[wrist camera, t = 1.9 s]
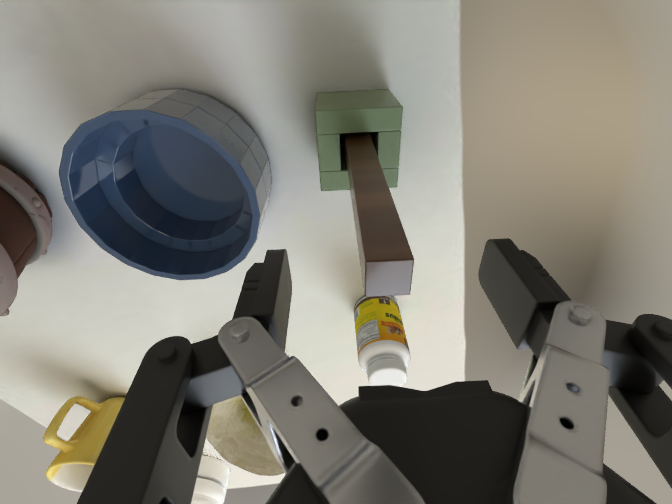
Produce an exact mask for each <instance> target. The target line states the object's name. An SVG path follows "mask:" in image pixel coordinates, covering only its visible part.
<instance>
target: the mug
mask: <svg viewBox="0 0 672 504" xmlns="http://www.w3.org/2000/svg"><path fill="white" fill-rule="evenodd" d="M124 400H125V397H114V398H110V399H108V400H106V401H104V402H102V403H100V404H98V403H96V402H94V401H92V400H89V399H87V398H84V397H81V396H76V397H73V398H71V399H69V400H68V401H67V402H66V403H65V404H64V405H63V406H62V407H61V408H60V410H59V411H58V412H57V414H56V415H55V417H54V418H53V420H52V421H51V423H50V425H49V426H48V428H47V430H46V432H45V434H44V437H43V441H44V442H45V443H47V444H49V445H51V446H53V447H55V448H58V449H60V450H61V451H60V452H59V454H58V455H57V456H56V458H55V459H54V460H53V462H52V463H51V465H50V466H49V467H48V469H47V471H46V476H47V478H48V479H49V480H50V481H51V482H52V483H54V484H56V485H58V486H60V487H63V488H65V489H69V490H73V491H79V492H82V491H83V489H84V487H85V485H86V483H87V480H88V478H89V476H90V474H91V472H92V469H93V467H94V465H95V463H96V461H97V459H98V456H99V454H100V452H101V450H102V448H103V445H104V443H105V441H106V439H107V437H108V435H109V432H110V430H111V428H112V426H113V424H114V421H115V419H116V417H117V415H118V413H119V410H120V408H121V406H122V404H123V402H124ZM75 403H77V404H79V405H81V406H83V407H85V408H87V409H89V410H90V411H91V412H90V414H89V415H88V416H87V418H86V419H85V420H84V422H83V423H82V424H81V425H80V427H79V428H78V429H77V431H76V432H75V433H74V434H73V436H72V437H71V438H70V440H69V441H64V440H62V439H60V438H59V437H57V431H58V429H59V426H60V425H61V423H62V421H63V419H64V417H65V416H66V414H67V413H68V411H69V410H70V408H71V407H72V406H73V405H74V404H75Z"/></svg>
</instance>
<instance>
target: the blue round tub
mask: <svg viewBox="0 0 672 504" xmlns="http://www.w3.org/2000/svg"><path fill="white" fill-rule="evenodd" d="M59 176H60V181H61V185H62V190H63V194H64V199H65V202H66V203H67V205H68V207H69V208H70V210H71V212H72V214H73V215H74V217H75V219H76V220H77V222H78V224H79V226H80V227H81V228H82V229H83V230H84V231H85V232H86V233H87V234H88V235H89V236H90V237H91V238H92V239H93V240H94V241H95V242H96V243H97V244H98V245H99V246H100V247H101V248H102V249H103V250H105V251H106V252H108V253H109V254H111V255H112V256H114V257H115V258H117V259H118V260H120V261H122V262H123V263H125V264H127V265H129V266H131V267H134V268H136V269H139V270H141V271H144V272H146V273H149V274H151V275H154V276H160V277H165V278H171V279H176V280H193V279H206V278H209V277H212V276H216V275H219V274H222V273H225V272H227V271H229V270H230V269H232V268H233V267H234V266H236V265H237V264H238V263H240V262H241V261H242V260H244V259H245V258H246V256H247V255H248V253H249V252H250V250H251V248H252V247H253V245H254V244H255V242H256V240H257V238H258V234H259V231H260V228H261V224H262V221H263V217H264V214H265V211H266V207H267V204H268V201H269V195H270V189H271V184H272V178H271V172H270V166H269V160H268V157H267V155H266V153H265V151H264V149H263V147H262V145H261V143H260V141H259V139H258V137H257V135H255V133H254V132H253V130H252V129H251V128H250V127H249V126H248V125H247V124H246V123H245V122H244V121H243V120H242V119H241V118H240V116H239V115H238V114H236V112H234V111H233V110H231V109H229V108H228V107H226V106H225V105H223V104H221V103H220V102H218V101H216V100H215V99H213V98H212V97H209V96H206V95H202V94H198V93H195V92H191V91H188V90H184V89H171V90H154V91H151V92H149V93H147V94H145V95H142V96H140V97H138V98H136V99H134V100H132V101H130V102H127V103H125V104H123V105H121V106H119V107H117V108H115V109H112V110H110V111H108V112H106V113H104V114H102V115H100V116H97V117H95V118H93V119H91V120H89V121H87V122H85V123H82V124H81V125H80V126H79V127H78V129H77V130H76V131H75V132H74V134H73V135H72V136H71V137H70V139H69V140H68V141H67V142H66V144H65V145H64V148H63V153H62V158H61V164H60V169H59Z"/></svg>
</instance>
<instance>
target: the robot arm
mask: <svg viewBox="0 0 672 504" xmlns="http://www.w3.org/2000/svg"><path fill="white" fill-rule="evenodd" d="M479 281H480V284H481V286H482V288H483V290H484V291H485V293H486V295H487V297H488V299H489V300H490V302H491V304H492V305H493V307H494V309H495V311H496V313H497V314H498V316H499V318H500V320H501V322H502V323H503V325H504V327H505V329H506V330H507V332H508V334H509V336H510V337H511V339H512V341H513V342H514V344H515V346H516V348H517V349H531V350H532V352H533V355H532V357H531V360H530V363H529V366H528V370H527V373H526V377H525V380H524V383H523V386H522V390H521V393H520V396H519V399H518V400H516V399H514V398H512V397H510V396H507V395H505V394H502V393H499V392H495V391H492V389H491V387H490V385H489V382H488V381H487V380H486V381H464V382H454V383H451V384H448V385H445V386H441V387H438V388H435V389H432V390H429V391H419V390H414V389H409V388H403V387H398V386H393V385H381V386H360V387H359V396H358V397H355V398H353V399H350V400H348V401H346V402H344V403H343V404H341V405H339V406H338V405H337V404H336V403H335V402H334V400H333V399H332V398H331V397H330V396H329V395H328V393H327V392H326V391H325V390H324V389H323V388H322V386H321V385H320V384H319V383H318V382H317V381H316V379H315V378H314V377H313V376H312V375H311V374H310V372H309V371H308V370H307V369H306V368H305V366H304V365H303V364H302V363H301V362H300V361H299V360H298V359H297V358H296V357H295V356H292V357H290V358H289V357H288V356H287V355H286V354H285V353H284V352H285V344H286V336H287V327H288V319H289V311H290V303H291V295H292V281H291V274H290V268H289V262H288V256H287V251H286V249H280V250H267V252H266V256H265V260H264V263H254V264H253V266H252V267H251V268H250V269H249V270H248V271H247V273H246V276H245V280H244V283H243V286H242V291H241V293H240V296H239V299H238V302H237V306H236V309H235V312H234V316H233V319H232V320H231V321H229V322H227V323H226V324H225V325H224V326H223V327H222V328H221V330H220V331H219V334H218V335H217V336H214V337H212V338H209V339H206V340H203V341H200V342H196V343H193V344H191V343H190V342H189V340H188V339H186V338H184V337H181V336H173V337H168V338H165V339H163V340H161V341H159V342H157V343H156V344H154V345H153V346H152V347H151V348H150V349H149V350H148V351H147V353H146V354H145V356H144V358H143V360H142V362H141V365H140V367H139V369H138V371H137V373H136V375H135V378H134V380H133V382H132V384H131V386H130V389H129V391H128V393H127V395H126V397H125V400H124V402H123V404H122V406H121V408H120V410H119V413H118V415H117V417H116V419H115V421H114V424H113V426H112V428H111V430H110V432H109V435H108V437H107V439H106V441H105V443H104V445H103V448H102V450H101V452H100V454H99V456H98V459H97V461H96V463H95V465H94V467H93V469H92V472H91V474H90V476H89V478H88V480H87V483H86V485H85V487H84V489H83V491H82V494H81V496H80V498H79V500H78V502H77V504H191V501H192V497H193V492H194V488H195V483H196V479H197V474H198V470H199V466H200V461H201V457H202V452H203V448H204V443H205V439H206V434H207V430H208V425H209V421H210V417H211V412H212V408H213V404H216V403H219V402H222V401H224V400H227V399H230V398H233V397H236V396H238V395H240V397H241V398H242V400H243V402H244V403H245V405H246V407H247V408H248V410H249V412H250V413H251V415H252V416H253V418H254V420H255V421H256V423H257V425H258V426H259V428H260V430H261V431H262V433H263V435H264V437H265V438H266V440H267V443H268V445H269V447H270V449H271V451H272V452H273V454H274V456H275V458H276V460H277V461H278V463H279V465H280V466H281V468H282V469H283V471H284V473H285V474H286V475H285V477H284V478H283V479H282V481H281V482H280V484H279V485H278V487H277V488H276V489H275V491H274V492H273V494H272V495H271V496H270V498H269V499H268V501H267V502H266V504H656V503H655V502H654V501H652V500H651V499H649V498H648V497H647V496H646V495H644V494H643V493H642V492H640V491H639V490H638V489H636V488H635V487H634V486H632V485H631V484H630V483H629V482H627V481H626V480H625V479H623V478H622V477H621V476H619V475H618V474H617V473H615V472H614V471H613V470H611V469H610V468H609V467H607V466H606V465H605V464H604V463H603V454H604V442H605V429H606V416H607V403H608V394H609V396H610V397H611V399H612V400H613V402H614V403H615V405H616V406H617V407H618V409H619V411H620V412H621V414H622V415H623V416H624V418H625V420H626V421H627V422H628V424H629V425H630V427H631V429H632V430H633V431H634V433H635V434H636V436H637V437H638V439H639V440H640V442H641V443H642V445H643V446H644V448H645V449H646V451H647V452H648V454H649V455H650V457H651V458H652V460H653V461H654V463H655V464H656V466H657V467H658V469H659V470H660V472H661V473H662V475H663V476H664V478H665V479H666V481H667V482H668V484H669V485H670V487H671V488H672V401H671V400H670V398H669V397H668V396H667V395H666V394H665V393H664V391H663V390H662V389H661V388H660V386H659V384H660V383H661V382H662V381H663V380H665V382H666V383H667V384H668V385H669V386H670V387H671V389H672V320H671V319H668V318H665V317H663V316H659V315H654V314H643V315H640V316H638V317H637V318H636V320H635V321H634V322H633V324H626V323H621V322H615V321H609V320H605V318H604V317H603V316H602V315H601V314H600V313H599V312H598V311H597V310H596V309H594V308H592V307H591V306H588V305H586V304H584V303H581V302H577V301H572V300H571V299H570V298H569V297H568V296H567V294H566V293H565V292H564V291H563V290H562V289H561V287H560V286H559V285H558V284H557V283H556V281H555V280H554V279H553V278H552V277H551V276H549V273H548V272H547V271H546V270H545V269H543V266H542V265H541V264H540V263H539V261H538V260H537V259H536V258H535V257H533V256H532V255H530V254H529V253H527V252H525V251H524V250H519V249H518V248H517V246H516V245H515V244H514V243H513V242H512V240H511V239H491V240H490V239H489V240H488V241H487V242H486V245H485V249H484V252H483V256H482V260H481V264H480V268H479Z"/></svg>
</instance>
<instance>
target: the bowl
mask: <svg viewBox="0 0 672 504" xmlns="http://www.w3.org/2000/svg"><path fill="white" fill-rule="evenodd" d="M206 438H207V440H208V441H209V442H210V444H211V445H212V446H213V447H214V448H215V449H216V450H217V451H218V453H219V454H220V455H221V456H222V457H223V458H224V459H225V460H226V461H228V462H229V463H231V464H233V465H235V466H238V467H239V468H242V469H244V470H246V471H248V472H251V473H254V474H258V475H267V476H274V475H279V474H282V473H284V471H283V469H282V468H281V466H280V465H279V463H278V461H277V460H276V458H275V456H274V454H273V452H272V451H271V449H270V447H269V445H268V443H267V440H266V438H265V437H264V435H263V433H262V431H261V430H260V428H259V426H258V425H257V423H256V421H255V420H254V418H253V416H252V415H251V413H250V412H249V410H248V408H247V407H246V405H245V403H244V402H243V400H242V398H241V397H240V395H238V396H236V397H233V398H230V399H227V400H224V401H222V402H219V403H216V404H213V408H212V412H211V417H210V421H209V425H208V430H207V434H206Z"/></svg>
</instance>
